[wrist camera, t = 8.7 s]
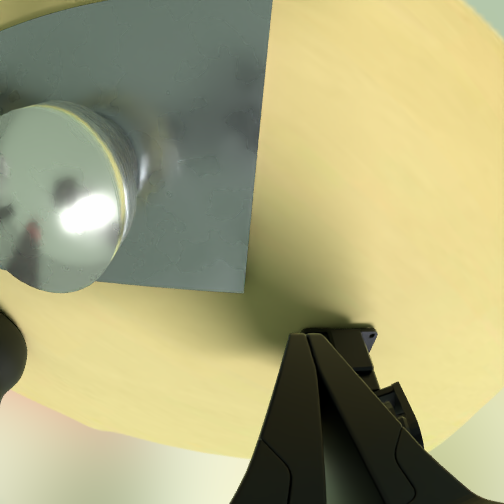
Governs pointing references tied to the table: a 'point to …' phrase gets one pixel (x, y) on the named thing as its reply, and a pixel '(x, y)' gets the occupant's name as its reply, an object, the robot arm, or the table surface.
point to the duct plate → (161, 121)
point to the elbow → (62, 195)
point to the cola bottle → (10, 355)
